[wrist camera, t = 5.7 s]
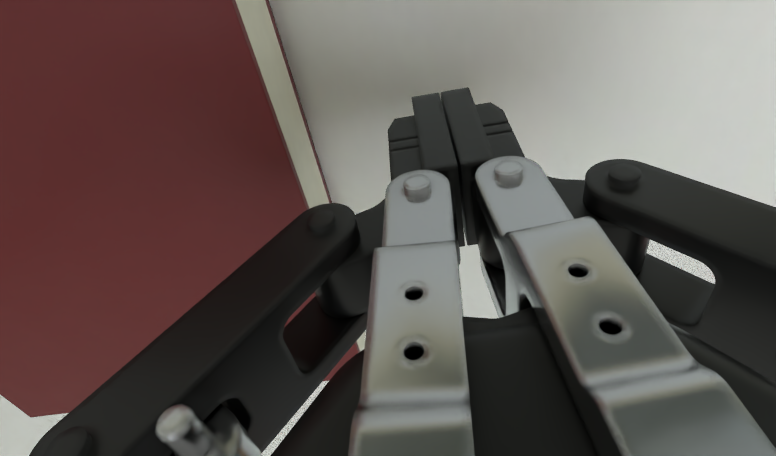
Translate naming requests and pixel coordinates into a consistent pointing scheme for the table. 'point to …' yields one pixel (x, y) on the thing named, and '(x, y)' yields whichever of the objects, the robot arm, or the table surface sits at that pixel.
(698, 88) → the table surface
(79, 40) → the book
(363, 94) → the table surface
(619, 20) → the table surface
